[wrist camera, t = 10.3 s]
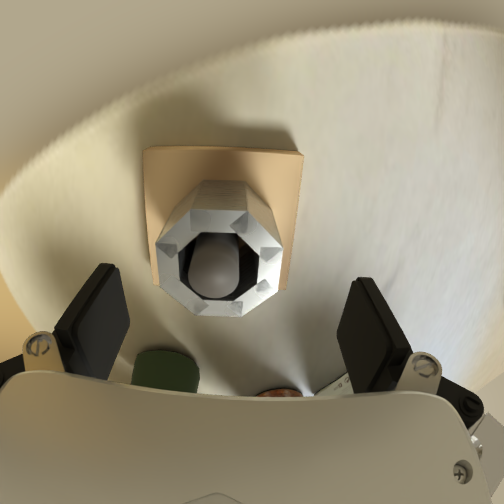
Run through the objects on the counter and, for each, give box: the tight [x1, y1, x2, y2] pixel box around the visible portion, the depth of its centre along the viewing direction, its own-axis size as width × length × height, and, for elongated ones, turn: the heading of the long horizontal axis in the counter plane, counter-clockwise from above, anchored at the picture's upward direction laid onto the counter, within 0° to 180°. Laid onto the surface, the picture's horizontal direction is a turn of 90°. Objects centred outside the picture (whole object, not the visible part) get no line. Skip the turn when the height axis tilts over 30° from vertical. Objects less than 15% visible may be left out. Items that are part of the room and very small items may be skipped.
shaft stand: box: [143, 146, 304, 298], centre depth 16 cm, size 9×9×7 cm
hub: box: [155, 179, 284, 317], centre depth 15 cm, size 6×6×5 cm
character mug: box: [131, 350, 200, 393], centre depth 20 cm, size 11×7×13 cm, turn 22°
